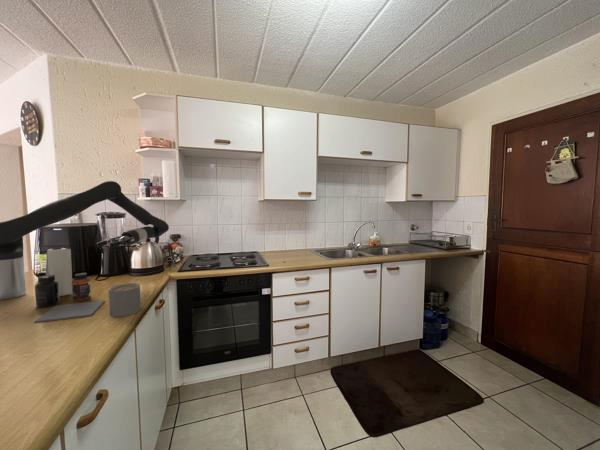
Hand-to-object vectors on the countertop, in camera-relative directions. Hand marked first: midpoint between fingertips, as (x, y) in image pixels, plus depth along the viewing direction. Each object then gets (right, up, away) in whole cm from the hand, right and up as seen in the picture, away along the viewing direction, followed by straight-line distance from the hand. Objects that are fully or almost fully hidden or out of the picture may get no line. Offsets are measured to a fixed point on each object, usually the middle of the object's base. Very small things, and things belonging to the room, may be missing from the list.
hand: (103, 245), depth 115 cm
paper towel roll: (-17, -23, -4) cm, 28 cm away
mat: (+4, -24, -20) cm, 32 cm away
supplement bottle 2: (-3, -23, -8) cm, 25 cm away
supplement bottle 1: (-11, -24, -14) cm, 30 cm away
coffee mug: (+23, -25, -17) cm, 38 cm away
